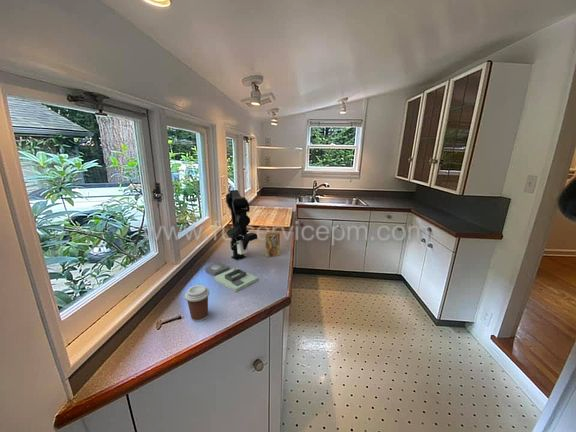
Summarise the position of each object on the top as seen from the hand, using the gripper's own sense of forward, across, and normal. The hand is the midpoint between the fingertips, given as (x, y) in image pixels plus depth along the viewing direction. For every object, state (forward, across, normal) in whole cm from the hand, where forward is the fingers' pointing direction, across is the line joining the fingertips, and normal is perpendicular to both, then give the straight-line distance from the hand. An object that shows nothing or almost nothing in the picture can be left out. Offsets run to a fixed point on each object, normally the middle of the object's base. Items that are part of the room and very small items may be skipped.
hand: (242, 249), depth 131 cm
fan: (+12, -10, -11) cm, 19 cm away
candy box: (+12, -1, +24) cm, 27 cm away
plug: (+2, 0, -1) cm, 2 cm away
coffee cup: (+13, +17, -37) cm, 43 cm away
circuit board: (+12, +6, -10) cm, 17 cm away
